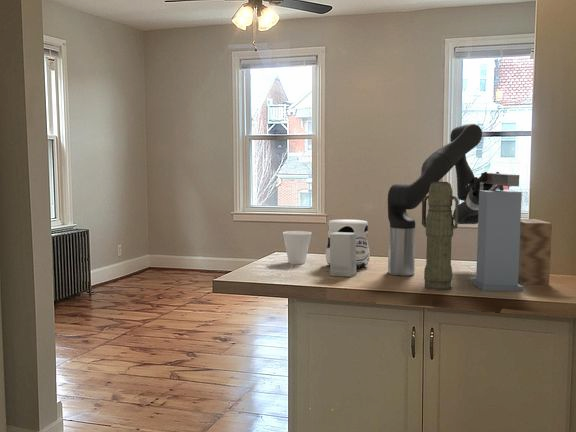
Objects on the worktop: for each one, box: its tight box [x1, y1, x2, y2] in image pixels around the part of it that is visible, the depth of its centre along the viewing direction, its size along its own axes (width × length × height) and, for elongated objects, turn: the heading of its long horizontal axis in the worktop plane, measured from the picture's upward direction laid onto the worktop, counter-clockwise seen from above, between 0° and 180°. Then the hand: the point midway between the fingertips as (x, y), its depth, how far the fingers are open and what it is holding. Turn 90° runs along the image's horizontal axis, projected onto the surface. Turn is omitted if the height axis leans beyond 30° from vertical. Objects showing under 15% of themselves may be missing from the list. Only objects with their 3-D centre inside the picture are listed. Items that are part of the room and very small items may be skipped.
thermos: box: [421, 181, 460, 291], centre depth 200 cm, size 9×12×35 cm
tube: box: [480, 172, 520, 187], centre depth 201 cm, size 28×4×4 cm, turn 179°
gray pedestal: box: [471, 189, 524, 292], centre depth 201 cm, size 13×13×32 cm
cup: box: [282, 230, 313, 265], centre depth 247 cm, size 12×12×12 cm
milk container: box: [325, 218, 371, 269], centre depth 239 cm, size 17×17×18 cm
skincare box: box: [329, 232, 357, 278], centre depth 221 cm, size 8×7×16 cm
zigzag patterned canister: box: [518, 218, 553, 285], centre depth 213 cm, size 9×14×21 cm, turn 179°
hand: (492, 174), depth 208 cm, fingers closed on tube, 3 cm apart
